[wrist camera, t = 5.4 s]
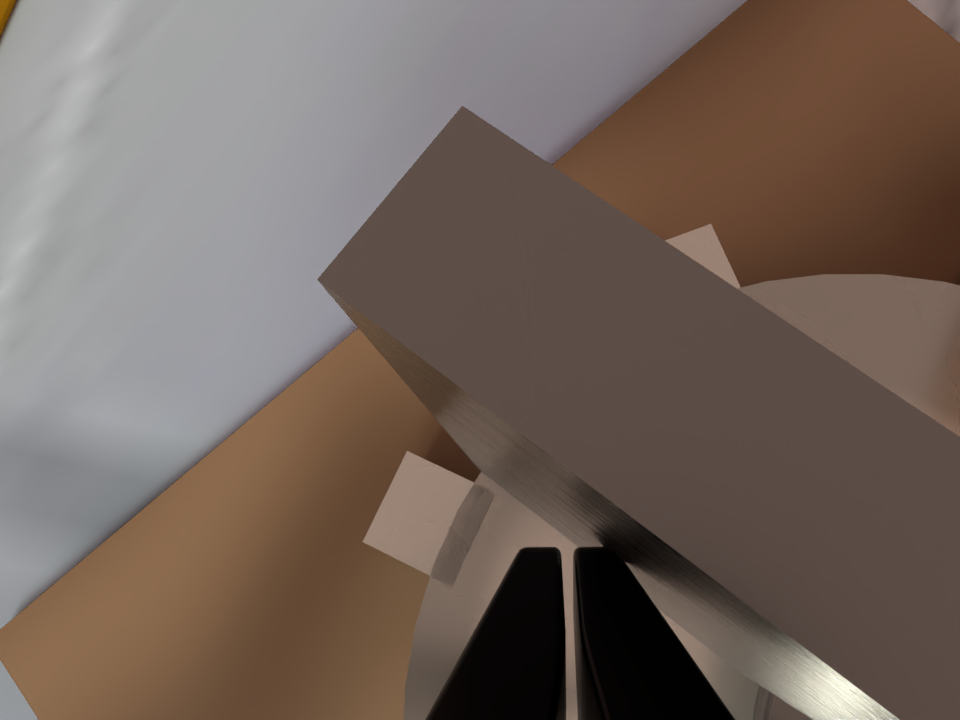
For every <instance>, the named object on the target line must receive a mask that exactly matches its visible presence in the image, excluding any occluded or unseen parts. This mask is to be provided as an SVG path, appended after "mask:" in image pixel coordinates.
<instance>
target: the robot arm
mask: <svg viewBox="0 0 960 720" xmlns="http://www.w3.org/2000/svg"><path fill="white" fill-rule="evenodd" d="M573 623H574V646H575V668H576V690H577V712H578V720H735V718H734V717H733V715H732V714H731V712H730V711H729V710H728V708H727V707H726V705H725V704H724V702H723V701H722V700H721V698H720V697H719V695H718V694H717V692H716V691H715V690H714V688H713V687H712V685H711V684H710V682H709V681H708V680H707V678H706V677H705V675H704V674H703V672H702V671H701V670H700V668H699V667H698V665H697V664H696V663H695V661H694V660H693V658H692V657H691V655H690V654H689V653H688V651H687V650H686V648H685V647H684V645H683V644H682V643H681V641H680V640H679V638H678V637H677V635H676V634H675V633H674V631H673V630H672V628H671V627H670V625H669V624H668V623H667V621H666V620H665V618H664V617H663V615H662V614H661V613H660V611H659V610H658V608H657V607H656V605H655V604H654V603H653V601H652V600H651V598H650V597H649V595H648V594H647V593H646V591H645V590H644V588H643V587H642V585H641V584H640V583H639V581H638V580H637V578H636V577H635V576H634V574H633V573H632V571H631V570H630V568H629V567H628V566H627V564H626V563H625V561H623V560H622V559H621V558H619V557H618V556H617V555H615V554H614V553H612V552H611V551H610V550H608V549H607V548H605V547H578V548H576V549H575V551H574V553H573ZM425 720H566V628H565V610H564V592H563V575H562V557H561V552H560V550H559V549H558V548H556V547H524V548H522V549H520V550H519V551H518V553H517V554H516V556H515V558H514V560H513V561H512V563H511V565H510V567H509V569H508V570H507V572H506V574H505V576H504V578H503V579H502V581H501V583H500V585H499V587H498V589H497V590H496V592H495V594H494V596H493V598H492V599H491V601H490V603H489V605H488V607H487V608H486V610H485V612H484V614H483V616H482V618H481V619H480V621H479V623H478V625H477V627H476V628H475V630H474V632H473V634H472V636H471V637H470V639H469V641H468V643H467V645H466V647H465V648H464V650H463V652H462V654H461V656H460V657H459V659H458V661H457V663H456V665H455V666H454V668H453V670H452V672H451V674H450V675H449V677H448V679H447V681H446V683H445V685H444V686H443V688H442V690H441V692H440V694H439V695H438V697H437V699H436V701H435V703H434V704H433V706H432V708H431V710H430V712H429V714H428V715H427V717H426V719H425Z"/></svg>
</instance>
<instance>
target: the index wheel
mask: <svg viewBox="0 0 960 720" xmlns="http://www.w3.org/2000/svg"><path fill="white" fill-rule="evenodd" d="M317 280H318V281H319V282H320V283H321V284H322V286H323V287H324V288H325V289H326V290H327V292H328V293H329V294H330V295H331V296H332V297H333V299H334V300H335V301H336V302H337V303H338V304H339V306H340V307H341V308H342V309H343V310H344V311H345V313H346V314H347V315H348V316H349V317H350V319H351V320H352V321H353V322H354V323H355V324H356V326H357V327H358V328H359V329H360V330H361V331H362V333H363V334H364V335H365V336H366V337H367V339H368V340H369V341H370V342H371V343H372V344H373V346H374V347H375V348H376V349H377V350H378V351H379V353H380V354H381V355H382V356H383V357H384V358H385V360H386V361H387V362H388V363H389V364H390V366H391V367H392V368H393V369H394V370H395V371H396V373H397V374H398V375H399V376H400V377H401V378H402V380H403V381H404V382H405V383H406V384H407V385H408V387H409V388H410V389H411V390H412V391H413V393H414V394H415V395H416V396H417V397H418V398H419V400H420V401H421V402H422V403H423V404H424V405H425V407H426V408H427V409H428V410H429V411H430V413H431V414H432V415H433V416H434V417H435V418H436V420H437V421H438V422H439V423H440V424H441V425H442V427H443V428H444V429H445V430H446V431H447V432H448V434H449V435H450V436H451V437H452V438H453V440H454V441H455V442H456V443H457V444H458V445H459V447H460V448H461V449H462V450H463V451H464V452H465V454H466V455H467V456H468V457H469V458H470V460H471V461H472V462H473V463H474V464H475V465H476V467H477V468H478V469H479V470H480V471H481V473H480V474H479V476H478V477H477V479H476V481H475V482H472V481H470V480H468V479H465V478H463V477H461V476H459V475H457V474H455V473H453V472H451V471H449V470H446V469H444V468H442V467H440V466H438V465H436V464H434V463H432V462H430V461H428V460H425V459H423V458H421V457H419V456H417V455H415V454H413V453H411V452H409V451H407V452H406V454H405V456H404V458H403V460H402V462H401V464H400V466H399V468H398V470H397V472H396V475H395V477H394V479H393V481H392V483H391V485H390V487H389V489H388V491H387V493H386V495H385V497H384V499H383V501H382V503H381V505H380V507H379V509H378V511H377V513H376V515H375V517H374V520H373V522H372V524H371V526H370V528H369V530H368V532H367V534H366V536H365V538H364V540H363V542H364V543H366V544H368V545H370V546H372V547H374V548H376V549H378V550H380V551H382V552H384V553H386V554H388V555H390V556H392V557H393V558H395V559H397V560H399V561H401V562H403V563H405V564H407V565H409V566H411V567H413V568H415V569H417V570H419V571H421V572H423V573H425V574H427V575H429V576H430V578H429V582H428V585H427V588H426V592H425V595H424V598H423V602H422V605H421V608H420V612H419V615H418V618H417V622H416V626H415V632H414V637H413V643H412V649H411V655H410V661H409V667H408V673H407V679H406V685H405V700H404V720H425V719H426V717H427V715H428V714H429V712H430V710H431V708H432V706H433V704H434V703H435V701H436V699H437V697H438V695H439V694H440V692H441V690H442V688H443V686H444V685H445V683H446V681H447V679H448V677H449V675H450V674H451V672H452V670H453V668H454V666H455V665H456V663H457V661H458V659H459V657H460V656H461V654H462V652H463V650H464V648H465V647H466V645H467V643H468V641H469V639H470V637H471V636H472V634H473V632H474V630H475V628H476V627H477V625H478V623H479V621H480V619H481V618H482V616H483V614H484V612H485V610H486V608H487V607H488V605H489V603H490V601H491V599H492V598H493V596H494V594H495V592H496V590H497V589H498V587H499V585H500V583H501V581H502V579H503V578H504V576H505V574H506V572H507V570H508V569H509V567H510V565H511V563H512V561H513V560H514V558H515V556H516V554H517V553H518V551H519V550H520V549H522V548H524V547H556V548H558V549H559V550H560V552H561V557H562V575H563V592H564V610H565V628H566V720H578V712H577V690H576V668H575V646H574V623H573V553H574V551H575V549H576V548H578V547H605V548H607V549H608V550H610V551H611V552H612V553H614V554H615V555H617V556H618V557H619V558H621V559H622V560H623V561H625V563H626V564H627V566H628V567H629V568H630V570H631V571H632V573H633V574H634V576H635V577H636V578H637V580H638V581H639V583H640V584H641V585H642V587H643V588H644V590H645V591H646V593H647V594H648V595H649V597H650V598H651V600H652V601H653V603H654V604H655V605H656V607H657V608H658V610H659V611H660V613H661V614H662V615H663V617H664V618H665V620H666V621H667V623H668V624H669V625H670V627H671V628H672V630H673V631H674V633H675V634H676V635H677V637H678V638H679V640H680V641H681V643H682V644H683V645H684V647H685V648H686V650H687V651H688V653H689V654H690V655H691V657H692V658H693V660H694V661H695V663H696V664H697V665H698V667H699V668H700V670H701V671H702V672H703V674H704V675H705V677H706V678H707V680H708V681H709V682H710V684H711V685H712V687H713V688H714V690H715V691H716V692H717V694H718V695H719V697H720V698H721V700H722V701H723V702H724V704H725V705H726V707H727V708H728V710H729V711H730V712H731V714H732V715H733V717H734V718H735V720H960V285H955V284H951V283H947V282H942V281H934V280H926V279H918V278H909V277H901V276H893V275H884V274H822V275H814V276H806V277H798V278H789V279H781V280H773V281H766V282H762V283H758V284H754V285H750V286H746V287H742V288H741V287H740V285H739V283H738V281H737V278H736V276H735V274H734V272H733V270H732V268H731V265H730V263H729V261H728V259H727V257H726V255H725V253H724V250H723V248H722V246H721V244H720V242H719V240H718V238H717V235H716V233H715V231H714V229H713V227H712V225H711V224H709V225H706V226H703V227H701V228H698V229H695V230H692V231H690V232H687V233H684V234H681V235H679V236H676V237H673V238H670V239H668V240H663V239H662V238H660V237H659V236H657V235H656V234H654V233H653V232H651V231H650V230H648V229H647V228H645V227H644V226H642V225H641V224H639V223H638V222H636V221H635V220H633V219H632V218H630V217H629V216H627V215H626V214H624V213H623V212H621V211H620V210H618V209H617V208H615V207H614V206H612V205H610V204H609V203H607V202H606V201H604V200H603V199H601V198H600V197H598V196H597V195H595V194H594V193H592V192H591V191H589V190H588V189H586V188H585V187H583V186H582V185H580V184H579V183H577V182H576V181H574V180H573V179H571V178H570V177H568V176H567V175H565V174H564V173H562V172H561V171H559V170H558V169H556V168H555V167H553V166H552V165H550V164H549V163H547V162H546V161H544V160H543V159H541V158H540V157H538V156H537V155H535V154H534V153H532V152H531V151H529V150H528V149H526V148H525V147H523V146H522V145H520V144H519V143H517V142H516V141H514V140H513V139H511V138H510V137H508V136H507V135H505V134H504V133H502V132H501V131H499V130H498V129H496V128H495V127H493V126H492V125H490V124H489V123H487V122H486V121H484V120H483V119H481V118H480V117H478V116H477V115H475V114H474V113H472V112H471V111H469V110H468V109H466V108H465V107H463V106H462V107H461V108H460V109H459V111H458V112H457V113H456V114H455V115H454V117H453V118H452V119H451V120H450V121H449V123H448V124H447V125H446V126H445V127H444V129H443V130H442V131H441V132H440V133H439V135H438V136H437V137H436V138H435V139H434V140H433V142H432V143H431V144H430V145H429V146H428V148H427V149H426V150H425V151H424V152H423V154H422V155H421V156H420V157H419V158H418V160H417V161H416V162H415V163H414V164H413V166H412V167H411V168H410V169H409V170H408V172H407V173H406V174H405V175H404V176H403V178H402V179H401V180H400V181H399V182H398V184H397V185H396V186H395V187H394V188H393V190H392V191H391V192H390V193H389V194H388V196H387V197H386V198H385V199H384V200H383V202H382V203H381V204H380V205H379V206H378V208H377V209H376V210H375V211H374V212H373V214H372V215H371V216H370V217H369V218H368V220H367V221H366V222H365V223H364V224H363V226H362V227H361V228H360V229H359V230H358V232H357V233H356V234H355V235H354V236H353V238H352V239H351V240H350V241H349V242H348V244H347V245H346V246H345V247H344V248H343V249H342V251H341V252H340V253H339V254H338V255H337V257H336V258H335V259H334V260H333V261H332V263H331V264H330V265H329V266H328V267H327V269H326V270H325V271H324V272H323V273H322V275H321V276H320V277H319V278H318V279H317Z"/></svg>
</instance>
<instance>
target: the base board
mask: <svg viewBox="0 0 960 720" xmlns="http://www.w3.org/2000/svg"><path fill="white" fill-rule="evenodd" d="M552 166H553V167H555V168H556V169H558V170H559V171H561V172H562V173H564V174H565V175H567V176H568V177H570V178H571V179H573V180H574V181H576V182H577V183H579V184H580V185H582V186H583V187H585V188H586V189H588V190H589V191H591V192H592V193H594V194H595V195H597V196H598V197H600V198H601V199H603V200H604V201H606V202H607V203H609V204H610V205H612V206H614V207H615V208H617V209H618V210H620V211H621V212H623V213H624V214H626V215H627V216H629V217H630V218H632V219H633V220H635V221H636V222H638V223H639V224H641V225H642V226H644V227H645V228H647V229H648V230H650V231H651V232H653V233H654V234H656V235H657V236H659V237H660V238H662V239H663V240H668V239H670V238H673V237H676V236H679V235H681V234H684V233H687V232H690V231H692V230H695V229H698V228H701V227H703V226H706V225H709V224H711V225H712V227H713V229H714V231H715V233H716V235H717V238H718V240H719V242H720V244H721V246H722V248H723V250H724V253H725V255H726V257H727V259H728V261H729V263H730V265H731V268H732V270H733V272H734V274H735V276H736V278H737V281H738V283H739V285H740V287H741V288H742V287H746V286H750V285H754V284H758V283H762V282H766V281H773V280H781V279H789V278H798V277H806V276H814V275H822V274H884V275H893V276H901V277H909V278H918V279H926V280H934V281H942V282H947V283H951V284H955V285H960V43H959V42H958V41H956V40H955V39H954V38H953V37H951V36H950V35H949V34H948V33H946V32H945V31H944V30H943V29H942V28H940V27H939V26H938V25H937V24H935V23H934V22H933V21H932V20H930V19H929V18H928V17H927V16H925V15H924V14H923V13H922V12H921V11H919V10H918V9H917V8H916V7H914V6H913V5H912V4H911V3H909V2H908V1H907V0H748V1H746V2H745V3H744V4H743V5H742V6H740V7H739V8H738V9H737V10H736V11H735V12H733V13H732V14H731V15H730V16H729V17H727V18H726V19H725V20H724V21H723V22H721V23H720V24H719V25H718V26H717V27H716V28H714V29H713V30H712V31H711V32H710V33H708V34H707V35H706V36H705V37H704V38H702V39H701V40H700V41H699V42H698V43H697V44H695V45H694V46H693V47H692V48H691V49H689V50H688V51H687V52H686V53H685V54H683V55H682V56H681V57H680V58H679V59H678V60H676V61H675V62H674V63H673V64H672V65H670V66H669V67H668V68H667V69H666V70H664V71H663V72H662V73H661V74H660V75H659V76H657V77H656V78H655V79H654V80H653V81H651V82H650V83H649V84H648V85H647V86H645V87H644V88H643V89H642V90H641V91H639V92H638V93H637V94H636V95H635V96H634V97H632V98H631V99H630V100H629V101H628V102H626V103H625V104H624V105H623V106H622V107H620V108H619V109H618V110H617V111H616V112H615V113H613V114H612V115H611V116H610V117H609V118H607V119H606V120H605V121H604V122H603V123H601V124H600V125H599V126H598V127H597V128H596V129H594V130H593V131H592V132H591V133H590V134H588V135H587V136H586V137H585V138H584V139H582V140H581V141H580V142H579V143H578V144H577V145H575V146H574V147H573V148H572V149H571V150H569V151H568V152H567V153H566V154H565V155H563V156H562V157H561V158H560V159H559V160H558V161H556V162H555V163H554V164H553V165H552ZM407 451H409V452H411V453H413V454H415V455H417V456H419V457H421V458H423V459H425V460H428V461H430V462H432V463H434V464H436V465H438V466H440V467H442V468H444V469H446V470H449V471H451V472H453V473H455V474H457V475H459V476H461V477H463V478H465V479H468V480H470V481H472V482H475V481H476V479H477V477H478V476H479V474H480V473H481V471H480V470H479V469H478V468H477V467H476V465H475V464H474V463H473V462H472V461H471V460H470V458H469V457H468V456H467V455H466V454H465V452H464V451H463V450H462V449H461V448H460V447H459V445H458V444H457V443H456V442H455V441H454V440H453V438H452V437H451V436H450V435H449V434H448V432H447V431H446V430H445V429H444V428H443V427H442V425H441V424H440V423H439V422H438V421H437V420H436V418H435V417H434V416H433V415H432V414H431V413H430V411H429V410H428V409H427V408H426V407H425V405H424V404H423V403H422V402H421V401H420V400H419V398H418V397H417V396H416V395H415V394H414V393H413V391H412V390H411V389H410V388H409V387H408V385H407V384H406V383H405V382H404V381H403V380H402V378H401V377H400V376H399V375H398V374H397V373H396V371H395V370H394V369H393V368H392V367H391V366H390V364H389V363H388V362H387V361H386V360H385V358H384V357H383V356H382V355H381V354H380V353H379V351H378V350H377V349H376V348H375V347H374V346H373V344H372V343H371V342H370V341H369V340H368V339H367V337H366V336H365V335H364V334H363V333H362V331H361V330H360V329H359V328H358V329H357V330H356V331H354V332H353V333H352V334H351V335H350V336H348V337H347V338H346V339H345V340H344V341H342V342H341V343H340V344H339V345H338V346H337V347H335V348H334V349H333V350H332V351H331V352H329V353H328V354H327V355H326V356H325V357H323V358H322V359H321V360H320V361H319V362H317V363H316V364H315V365H314V366H313V367H312V368H310V369H309V370H308V371H307V372H306V373H304V374H303V375H302V376H301V377H300V378H298V379H297V380H296V381H295V382H294V383H293V384H291V385H290V386H289V387H288V388H287V389H285V390H284V391H283V392H282V393H281V394H279V395H278V396H277V397H276V398H275V399H274V400H272V401H271V402H270V403H269V404H268V405H266V406H265V407H264V408H263V409H262V410H260V411H259V412H258V413H257V414H256V415H255V416H253V417H252V418H251V419H250V420H249V421H247V422H246V423H245V424H244V425H243V426H241V427H240V428H239V429H238V430H237V431H236V432H234V433H233V434H232V435H231V436H230V437H228V438H227V439H226V440H225V441H224V442H222V443H221V444H220V445H219V446H218V447H216V448H215V449H214V450H213V451H212V452H211V453H209V454H208V455H207V456H206V457H205V458H203V459H202V460H201V461H200V462H199V463H197V464H196V465H195V466H194V467H193V468H192V469H190V470H189V471H188V472H187V473H186V474H184V475H183V476H182V477H181V478H180V479H178V480H177V481H176V482H175V483H174V484H173V485H171V486H170V487H169V488H168V489H167V490H165V491H164V492H163V493H162V494H161V495H159V496H158V497H157V498H156V499H155V500H154V501H152V502H151V503H150V504H149V505H148V506H146V507H145V508H144V509H143V510H142V511H140V512H139V513H138V514H137V515H136V516H135V517H133V518H132V519H131V520H130V521H129V522H127V523H126V524H125V525H124V526H123V527H121V528H120V529H119V530H118V531H117V532H116V533H114V534H113V535H112V536H111V537H110V538H108V539H107V540H106V541H105V542H104V543H102V544H101V545H100V546H99V547H98V548H96V549H95V550H94V551H93V552H92V553H91V554H89V555H88V556H87V557H86V558H85V559H83V560H82V561H81V562H80V563H79V564H77V565H76V566H75V567H74V568H73V569H72V570H70V571H69V572H68V573H67V574H66V575H64V576H63V577H62V578H61V579H60V580H58V581H57V582H56V583H55V584H54V585H53V586H51V587H50V588H49V589H48V590H47V591H45V592H44V593H43V594H42V595H41V596H39V597H38V598H37V599H36V600H35V601H34V602H32V603H31V604H30V605H29V606H28V607H26V608H25V609H24V610H23V611H22V612H20V613H19V614H18V615H17V616H16V617H15V618H13V619H12V620H11V621H10V622H9V623H7V624H6V625H5V626H4V627H3V628H1V629H0V660H1V662H2V663H3V665H4V666H5V668H6V669H7V671H8V672H9V674H10V676H11V677H12V679H13V680H14V682H15V683H16V685H17V687H18V688H19V690H20V691H21V693H22V694H23V696H24V697H25V699H26V701H27V702H28V704H29V705H30V707H31V708H32V710H33V712H34V713H35V715H36V716H37V718H38V719H39V720H404V700H405V685H406V679H407V673H408V667H409V661H410V655H411V649H412V643H413V637H414V632H415V626H416V622H417V618H418V615H419V612H420V608H421V605H422V602H423V598H424V595H425V592H426V588H427V585H428V582H429V578H430V576H429V575H427V574H425V573H423V572H421V571H419V570H417V569H415V568H413V567H411V566H409V565H407V564H405V563H403V562H401V561H399V560H397V559H395V558H393V557H392V556H390V555H388V554H386V553H384V552H382V551H380V550H378V549H376V548H374V547H372V546H370V545H368V544H366V543H364V542H363V540H364V538H365V536H366V534H367V532H368V530H369V528H370V526H371V524H372V522H373V520H374V517H375V515H376V513H377V511H378V509H379V507H380V505H381V503H382V501H383V499H384V497H385V495H386V493H387V491H388V489H389V487H390V485H391V483H392V481H393V479H394V477H395V475H396V472H397V470H398V468H399V466H400V464H401V462H402V460H403V458H404V456H405V454H406V452H407Z"/></svg>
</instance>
